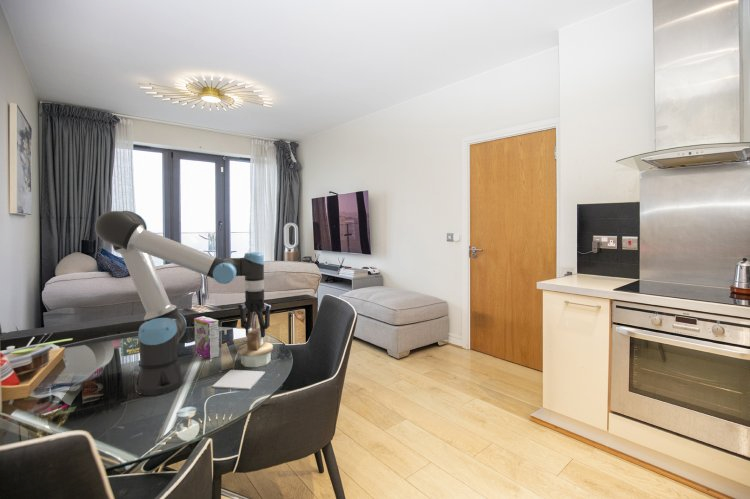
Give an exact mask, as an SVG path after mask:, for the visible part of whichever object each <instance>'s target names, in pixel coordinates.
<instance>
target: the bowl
mask: <svg viewBox="0 0 750 499" xmlns="http://www.w3.org/2000/svg"><path fill="white" fill-rule="evenodd" d="M271 355H272V351H271V352H270V353H268V354H265V355H261V356H254V357H247V356H242V355H240V364H242V366H244V367H245V368H258V367H262V366H265V365H266V366H267V365H268V363H269V362H271V361H272V358H271Z"/></svg>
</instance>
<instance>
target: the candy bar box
mask: <svg viewBox="0 0 750 499" xmlns="http://www.w3.org/2000/svg"><path fill="white" fill-rule="evenodd" d="M193 324H194V328H193V329H194V344H195V345H194V348H195V349H194V350H195V352H194V354H195V353H197V354H199V355H198V356H200V355H201V356H200V357H202V358H205V357H206V358H205V359H208V360H213V359H216V358H218V357H220V333H219V332H220V331H219V330H220V328H219V327H220V326H219V320H218V319H215V318H211V317H207V316H198V317H194V318H193ZM197 354H196V355H197ZM215 357H216V358H215ZM212 358H213V359H212Z"/></svg>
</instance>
